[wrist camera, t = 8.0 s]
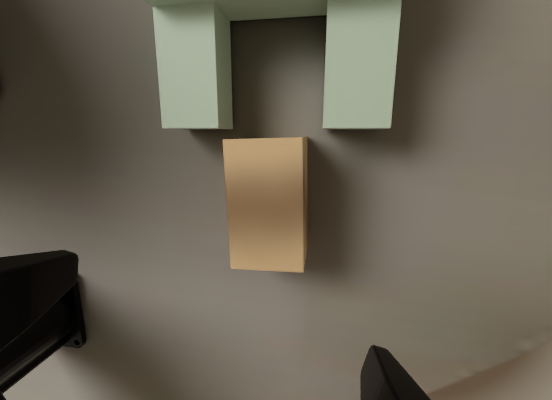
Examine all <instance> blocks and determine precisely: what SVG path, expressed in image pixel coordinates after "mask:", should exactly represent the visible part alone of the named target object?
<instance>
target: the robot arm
mask: <svg viewBox="0 0 552 400" xmlns="http://www.w3.org/2000/svg"><path fill="white" fill-rule="evenodd" d="M77 276H78V255H77V254H75V253H73V252H69V251H66V250H59V251H50V252H42V253H33V254H25V255H16V256H7V257H0V400H6V399H5V397H4V396H3V393H4V392H5V391H7V390H8V389H9V388H10V387H12V386H13V385H14V384H15V383H17V382H18V381H19V380H20V379H22V378H23V377H24V376H25V375H27V374H28V373H29V372H30V371H32V370H33V369H34V368H35V367H37V366H38V365H39V364H41V363H42V362H43V361H44V360H46V359H47V358H48V357H49V356H51V355H52V354H53V353H54V352H56V351H57V350H58V349H59V348H61V347H62V346H67V347H75V348H80V347H82V346H83V345H84V344H85V343H86V335H85V329H84V323H83V316H82V310H81V304H80V298H79V291H78V285H77ZM361 400H430V398H429V397H428V396H427V395H426V394H425V392H424V391H423V390H422V389H421V388H420V387H419V385H418V384H417V383H416V382H415V381H414V380H413V379H412V377H411V376H410V375H409V374H408V373H407V372H406V370H405V369H404V368H403V367H402V366H401V365H400V363H399V362H398V361H397V360H396V359H395V358H394V357H393V355H392V354H391V353H390V352H389V351H388V350H387V349H385V348H382V347H379V346H375V345H372V346H371V347H370V348H369V350H368V353H367V356H366V359H365V361H364V364H363V367H362V370H361Z"/></svg>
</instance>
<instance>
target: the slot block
mask: <svg viewBox="0 0 552 400" xmlns="http://www.w3.org/2000/svg"><path fill="white" fill-rule="evenodd" d="M145 1H146V2H148V3H149V4H150V5H152V6H153V18H154V31H155V43H156V56H157V69H158V81H159V94H160V107H161V120H162V128H169V129H233V114H232V77H231V41H230V21H240V20H256V19H272V18H288V17H304V16H320V15H327V29H326V55H325V82H324V108H323V129H388V128H391V119H392V107H393V96H394V84H395V73H396V61H397V50H398V38H399V27H400V15H401V4H402V0H145Z"/></svg>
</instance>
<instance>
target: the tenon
mask: <svg viewBox="0 0 552 400" xmlns="http://www.w3.org/2000/svg"><path fill="white" fill-rule="evenodd" d="M223 154H224V169H225V184H226V200H227V215H228V231H229V246H230V261H231V269H245V270H264V271H283V272H304V267H305V261H306V255H307V249H308V137H287V138H251V139H223Z"/></svg>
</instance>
